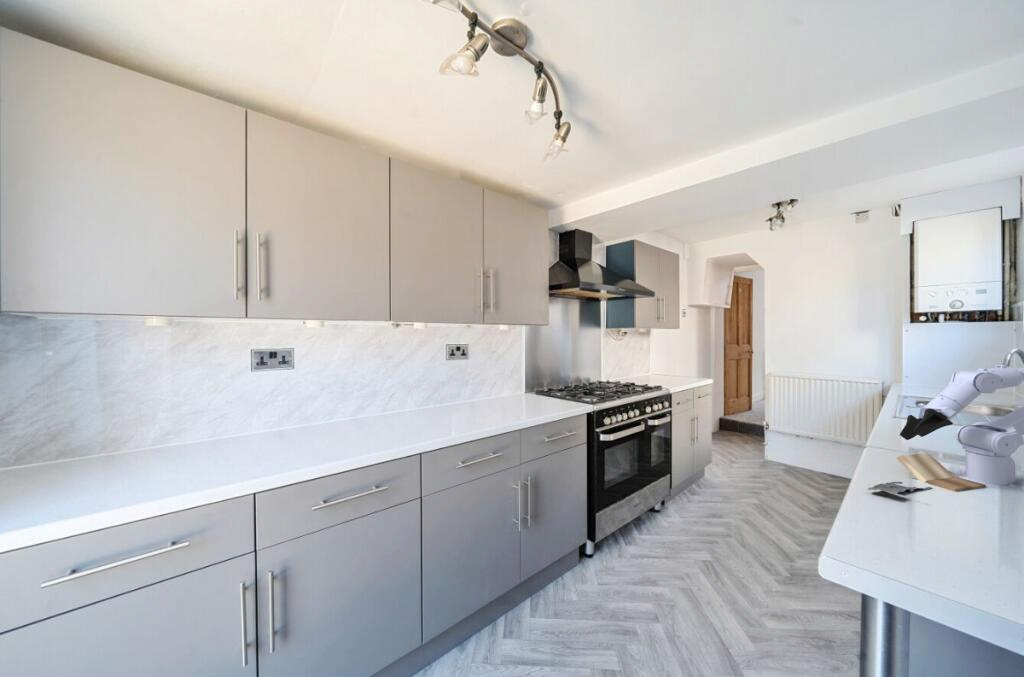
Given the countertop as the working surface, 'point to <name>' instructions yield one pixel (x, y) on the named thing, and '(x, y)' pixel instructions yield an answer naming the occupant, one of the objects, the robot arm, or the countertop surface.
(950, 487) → the floor row
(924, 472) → the plank
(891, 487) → the driftwood
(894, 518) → the countertop surface
